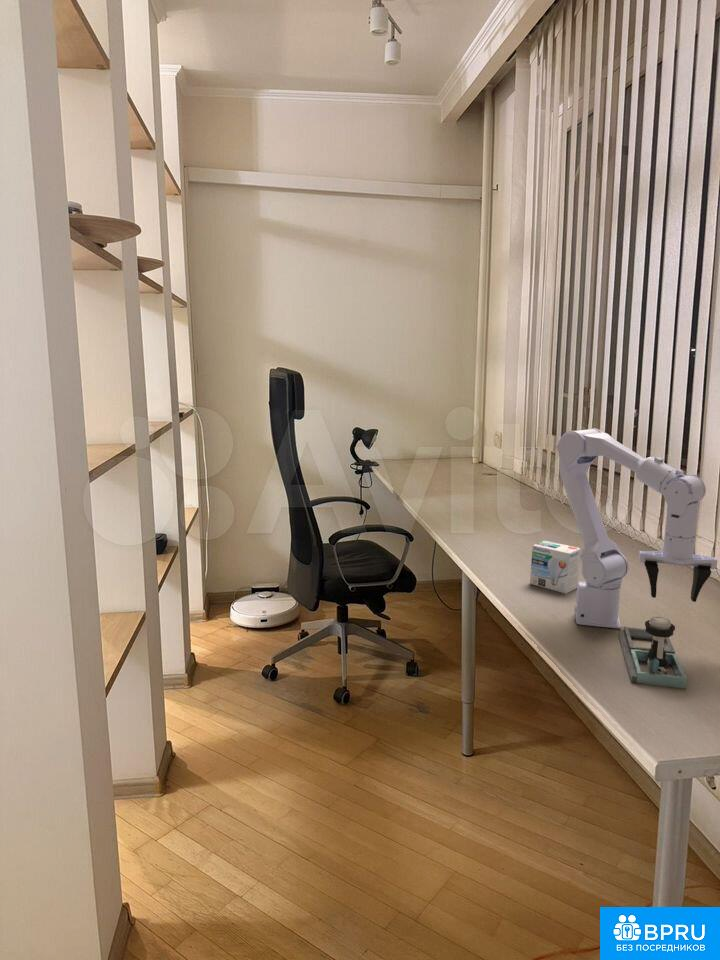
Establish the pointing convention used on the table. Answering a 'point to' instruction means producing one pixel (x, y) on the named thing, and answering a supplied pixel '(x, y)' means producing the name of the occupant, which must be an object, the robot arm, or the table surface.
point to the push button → (658, 642)
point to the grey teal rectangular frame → (641, 654)
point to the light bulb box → (555, 566)
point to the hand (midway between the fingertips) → (673, 598)
